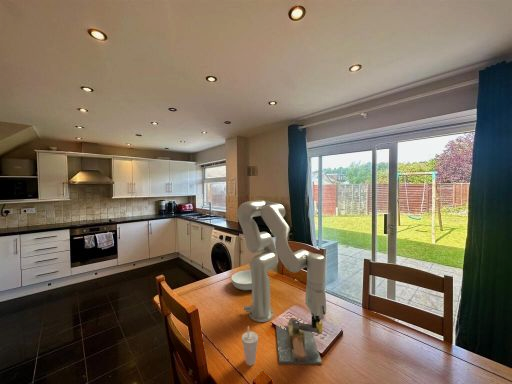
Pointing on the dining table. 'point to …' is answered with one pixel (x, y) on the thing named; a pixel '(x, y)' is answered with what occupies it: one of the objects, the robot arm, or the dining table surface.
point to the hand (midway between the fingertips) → (315, 325)
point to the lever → (307, 327)
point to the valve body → (296, 346)
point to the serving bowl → (242, 280)
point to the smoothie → (250, 346)
